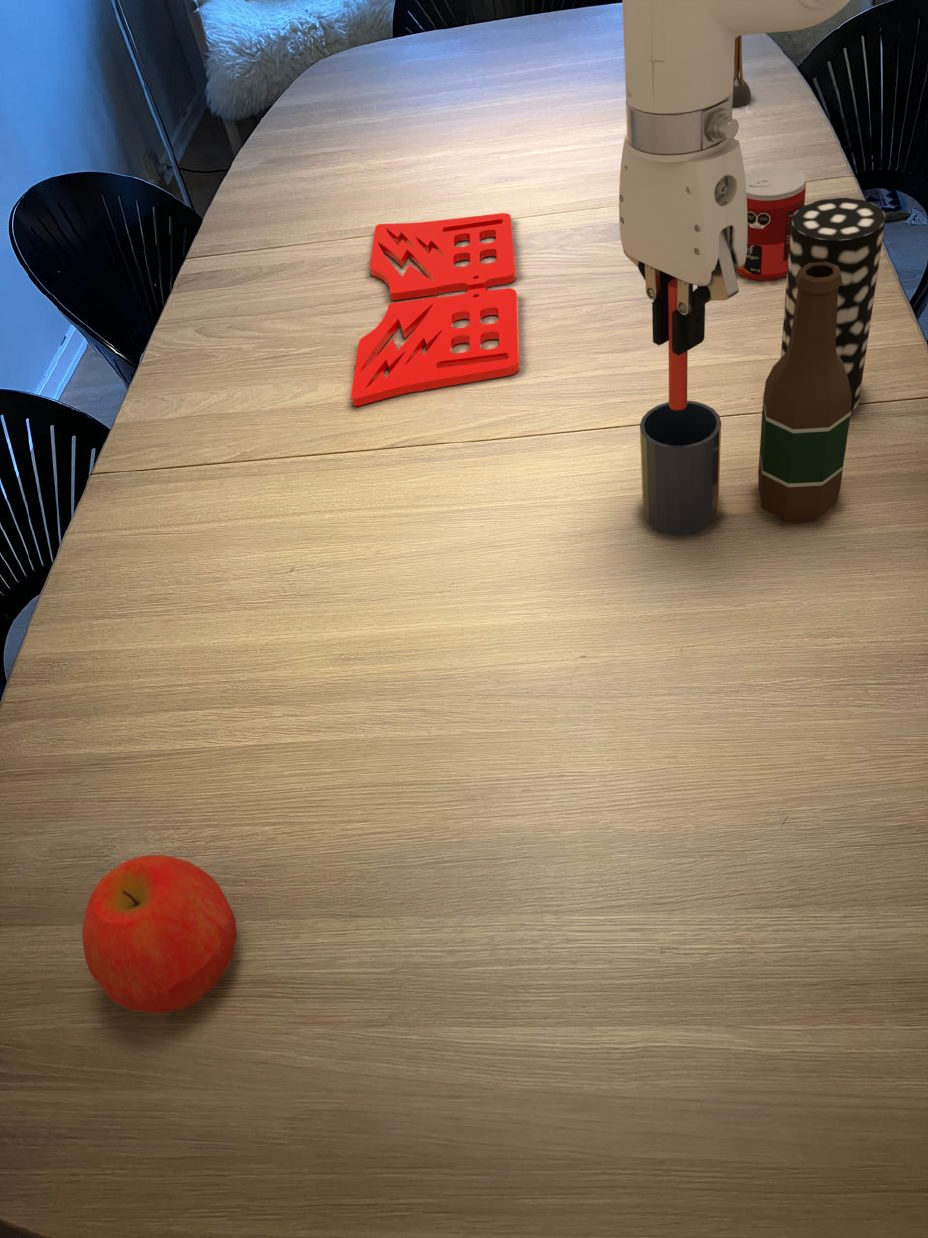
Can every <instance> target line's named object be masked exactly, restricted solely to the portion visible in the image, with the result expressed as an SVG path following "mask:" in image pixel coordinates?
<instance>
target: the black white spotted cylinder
mask: <svg viewBox="0 0 928 1238" xmlns="http://www.w3.org/2000/svg"><path fill="white" fill-rule="evenodd" d="M886 219H887V216H886V212H885V211H884V210H883V208H882V207H880V206H879V205H877V204H875V203H873V202H871V201H867V200H866V199H865V200H864V199H859V198H854V197H831V198H825V199H819V200H816V201H812V202H810V203H807V204H804V206H803V207H801V208H800V209H798V210H797V211H796V212H795V213H794V215H793V216H792V220H791V232H790V245H789V258H788V270H787V275H786V284H785V298H784V308H783V309H784V310H783V324H782V335H781V336H782V337H781V347H780V348H781V349H780V359H781V358H782V357H783V356H784V354H785V353H786V351H787V347H788V344H789V341H790V337H791V331H792V324H793V318H794V311H795V305H796V298H797V292H798V288H797V285H796V281H795V278H796V276H797V273H798V271H799V269H801V268H802V267H804V266H805V265H807V264H809V263H816V262H828V263H831V264H834V265H837V266H839V269H840V272H841V277H842V282H843V285H841V286H840V287H838V304H837V325H836V353H837V354H838V355H839V357H840V358H841V359H842V361H843V363H844V367H845V370H846V374H847V377H848V381H849V385H850V389H851V393H852V400H851V413H852V412H853V411H854V410H855V409H856V408H857V407H858V405H859V403H860V397H861V390H862V384H863V383H862V381H863V377H864V370H865V363H866V356H867V349H868V343H869V342H868V341H869V335H870V329H871V321H872V314H873V310H874V309H873V308H874V300H875V293H876V288H877V280H878V274H879V267H880V259H881V252H882V245H883V240H884V239H883V238H884V233H885V226H886Z"/></svg>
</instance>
